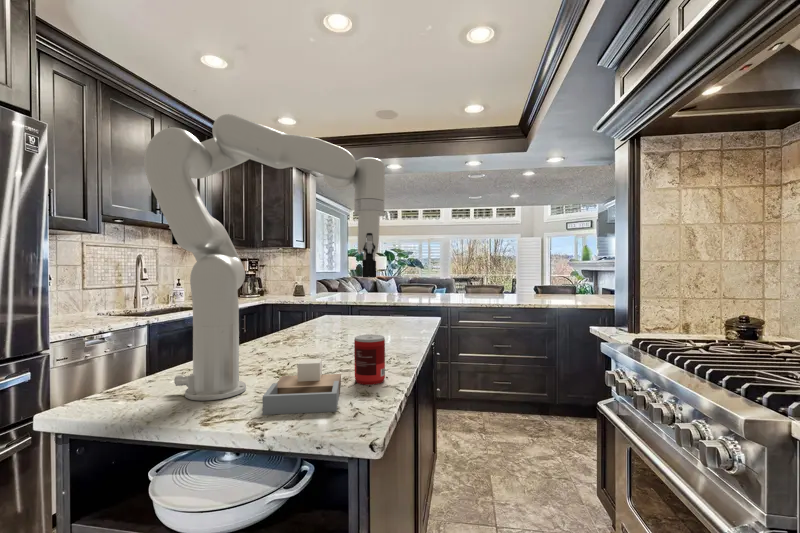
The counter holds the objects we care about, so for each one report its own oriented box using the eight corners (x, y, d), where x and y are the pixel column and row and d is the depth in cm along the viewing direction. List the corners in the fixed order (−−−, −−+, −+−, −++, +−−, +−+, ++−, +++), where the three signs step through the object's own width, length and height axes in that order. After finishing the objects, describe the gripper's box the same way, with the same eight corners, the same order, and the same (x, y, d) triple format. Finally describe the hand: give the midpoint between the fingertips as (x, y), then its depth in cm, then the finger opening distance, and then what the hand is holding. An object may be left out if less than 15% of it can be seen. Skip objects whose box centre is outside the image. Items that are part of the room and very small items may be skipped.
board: (272, 399, 83) (272, 388, 83) (281, 386, 93) (281, 376, 93) (338, 397, 84) (338, 385, 85) (340, 384, 94) (340, 373, 94)
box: (262, 414, 74) (262, 396, 74) (272, 399, 83) (272, 383, 83) (336, 411, 76) (336, 393, 76) (338, 397, 84) (338, 380, 85)
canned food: (379, 375, 103) (378, 333, 103) (389, 383, 95) (389, 338, 95) (351, 378, 100) (350, 335, 100) (359, 386, 92) (359, 340, 92)
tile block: (297, 381, 88) (297, 363, 88) (300, 375, 93) (300, 359, 93) (319, 380, 89) (319, 363, 89) (321, 375, 93) (321, 358, 94)
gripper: (355, 214, 105) (354, 277, 105) (353, 202, 88) (352, 277, 88) (382, 214, 106) (382, 277, 105) (386, 202, 89) (385, 277, 88)
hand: (368, 277), depth 96 cm, fingers open, 9 cm apart
